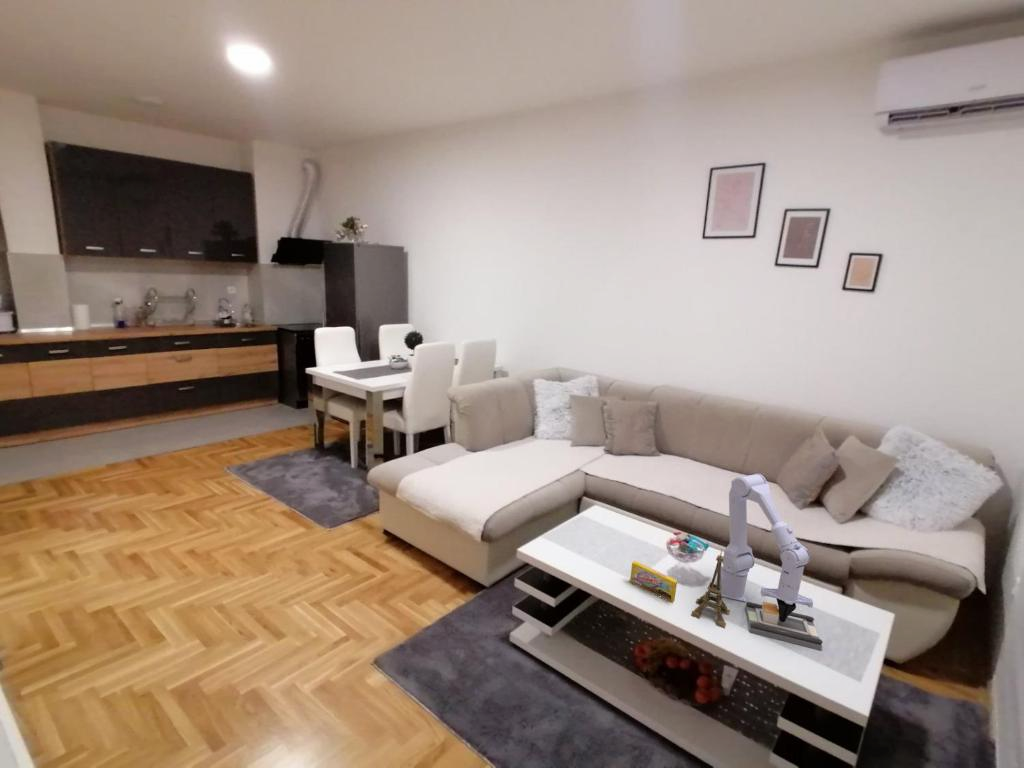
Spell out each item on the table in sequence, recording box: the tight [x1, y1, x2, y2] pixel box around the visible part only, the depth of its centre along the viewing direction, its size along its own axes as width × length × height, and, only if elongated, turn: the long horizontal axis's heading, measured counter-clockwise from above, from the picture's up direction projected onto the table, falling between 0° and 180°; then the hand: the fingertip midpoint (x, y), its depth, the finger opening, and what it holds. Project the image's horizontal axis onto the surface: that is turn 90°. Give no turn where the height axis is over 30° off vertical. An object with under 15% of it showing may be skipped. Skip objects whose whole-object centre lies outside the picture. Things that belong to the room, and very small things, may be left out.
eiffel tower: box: [690, 549, 731, 629], centre depth 166 cm, size 11×11×25 cm
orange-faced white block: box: [761, 600, 779, 625], centre depth 164 cm, size 4×5×4 cm
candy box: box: [629, 560, 678, 603], centre depth 177 cm, size 16×2×8 cm, turn 49°
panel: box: [744, 601, 824, 651], centre depth 164 cm, size 20×13×3 cm, turn 72°
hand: (781, 620), depth 163 cm, fingers closed
